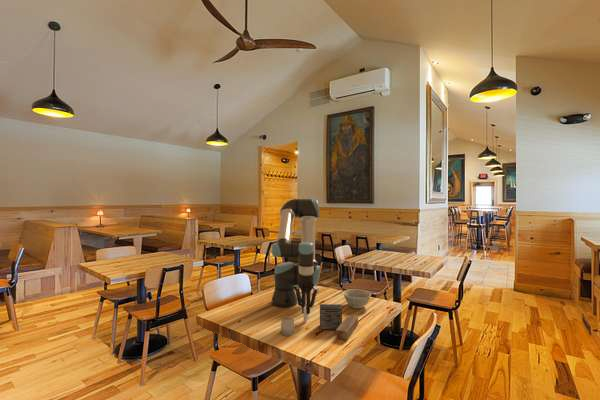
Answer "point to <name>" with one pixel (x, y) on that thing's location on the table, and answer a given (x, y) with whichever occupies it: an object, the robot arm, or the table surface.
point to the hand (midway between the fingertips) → (305, 319)
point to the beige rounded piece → (287, 326)
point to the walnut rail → (346, 328)
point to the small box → (330, 316)
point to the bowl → (357, 297)
